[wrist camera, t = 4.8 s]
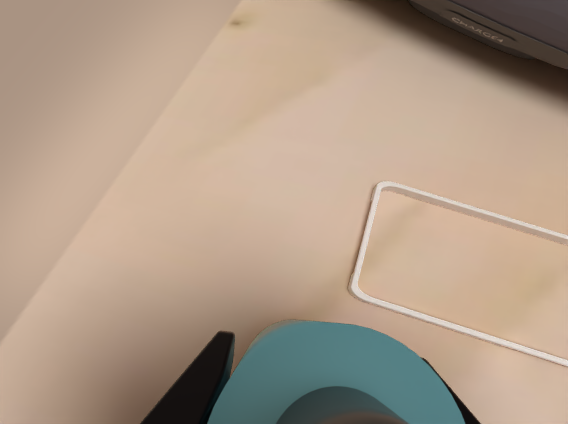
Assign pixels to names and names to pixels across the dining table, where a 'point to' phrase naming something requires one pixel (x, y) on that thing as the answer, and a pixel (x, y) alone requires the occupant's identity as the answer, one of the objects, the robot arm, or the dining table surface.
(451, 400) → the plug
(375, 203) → the phone case
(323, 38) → the dining table surface
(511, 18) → the bluetooth speaker
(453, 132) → the dining table surface
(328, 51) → the dining table surface
